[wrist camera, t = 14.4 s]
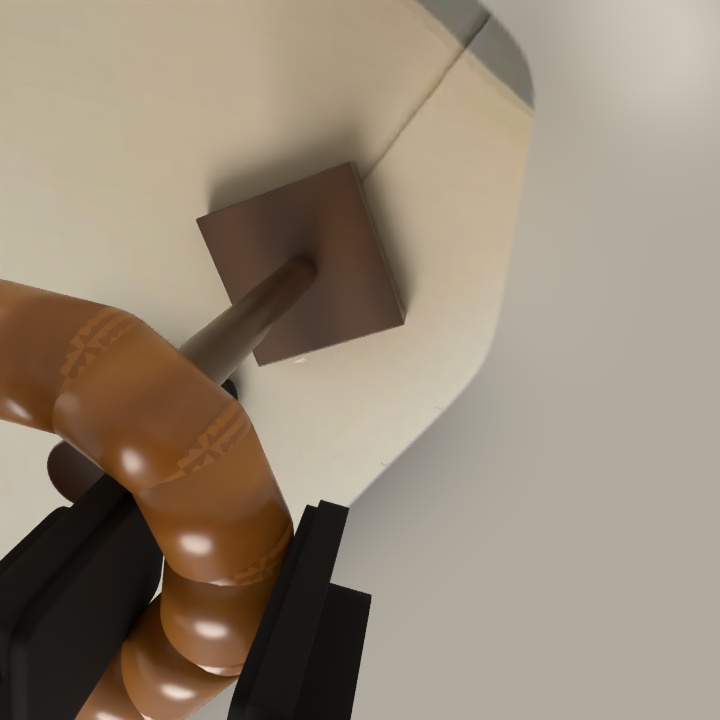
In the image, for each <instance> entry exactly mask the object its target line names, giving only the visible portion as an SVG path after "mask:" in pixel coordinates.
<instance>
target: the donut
mask: <svg viewBox="0 0 720 720" xmlns="http://www.w3.org/2000/svg"><path fill="white" fill-rule="evenodd" d="M0 419H1V420H5V421H8V422H12V423H16V424H20V425H23V426H27V427H31V428H35V429H38V430H42V431H46V432H50V433H53V434H57V435H59V436H60V437H61V438H62V439H64V440H65V441H66V442H67V443H69V444H70V445H71V446H73V447H74V448H75V449H76V450H78V451H79V452H80V453H81V454H83V455H84V456H85V457H87V458H88V459H89V460H90V461H92V462H93V463H94V464H95V465H97V466H98V467H99V468H100V469H102V470H103V471H104V472H106V473H107V474H108V475H109V476H111V477H112V478H113V479H114V480H116V481H117V482H118V483H119V484H121V485H122V486H123V487H125V488H126V489H127V490H128V491H130V492H131V493H132V495H133V497H134V499H135V501H136V503H137V505H138V507H139V509H140V511H141V513H142V514H143V516H144V518H145V520H146V522H147V524H148V526H149V528H150V530H151V532H152V534H153V536H154V537H155V539H156V541H157V543H158V545H159V547H160V549H161V551H162V553H163V555H164V557H165V560H164V571H163V582H162V592H161V593H160V594H159V595H158V596H157V597H156V598H155V599H154V600H153V601H152V602H150V603H149V604H148V605H147V606H146V607H145V608H144V609H143V610H142V611H141V613H140V614H139V615H138V617H137V619H136V620H135V622H134V624H133V626H132V628H131V630H130V632H129V635H128V637H127V639H126V640H125V642H124V643H123V645H122V646H121V648H120V649H119V651H118V653H117V654H116V656H115V657H114V659H113V660H112V662H111V663H110V665H109V667H108V668H107V670H106V671H105V673H104V674H103V676H102V677H101V679H100V681H99V682H98V684H97V685H96V687H95V688H94V690H93V691H92V693H91V695H90V696H89V698H88V699H87V701H86V702H85V704H84V706H83V707H82V709H81V710H80V712H79V713H78V715H77V716H76V718H75V720H184V719H186V718H188V717H189V716H191V715H193V714H194V713H195V712H196V711H198V710H199V709H200V708H201V707H203V706H204V705H205V704H206V703H208V702H209V701H210V700H212V699H213V698H214V697H215V696H217V695H218V694H219V693H221V692H222V691H223V690H224V689H225V688H227V687H228V686H229V685H231V684H232V683H233V682H234V681H236V680H237V679H238V678H239V676H240V673H241V671H242V668H243V666H244V663H245V661H246V658H247V656H248V653H249V650H250V648H251V645H252V643H253V640H254V638H255V635H256V633H257V630H258V627H259V625H260V622H261V620H262V617H263V615H264V612H265V610H266V607H267V605H268V602H269V599H270V597H271V594H272V592H273V589H274V587H275V584H276V582H277V579H278V577H279V574H280V571H281V569H282V566H283V564H284V561H285V559H286V556H287V554H288V551H289V549H290V546H291V543H292V541H293V538H294V528H293V522H292V518H291V515H290V512H289V509H288V507H287V505H286V502H285V500H284V498H283V495H282V493H281V491H280V488H279V486H278V483H277V481H276V479H275V476H274V474H273V472H272V469H271V467H270V465H269V462H268V460H267V458H266V455H265V453H264V451H263V448H262V446H261V443H260V441H259V439H258V436H257V434H256V432H255V429H254V427H253V425H252V422H251V420H250V418H249V416H248V414H247V413H246V411H245V409H244V408H243V407H242V405H241V404H240V403H239V402H238V401H237V400H236V399H235V398H234V397H233V396H232V395H230V394H229V393H228V392H227V391H226V390H224V389H223V388H222V387H221V386H220V385H219V384H217V383H216V382H215V381H214V380H213V379H211V378H210V377H209V376H208V375H207V374H206V373H204V372H203V371H202V370H201V369H200V368H198V367H197V366H196V365H195V364H194V363H192V362H191V361H190V360H189V359H188V358H187V357H185V356H184V355H183V354H182V353H181V352H179V351H178V350H177V349H176V348H175V347H174V346H172V345H171V344H170V343H169V342H168V341H166V340H165V339H164V338H163V337H162V336H161V335H159V334H158V333H157V332H156V331H155V330H153V329H152V328H151V327H150V326H149V325H147V324H146V323H145V322H144V321H143V320H141V319H139V318H138V317H136V316H135V315H133V314H131V313H128V312H126V311H124V310H121V309H118V308H115V307H111V306H107V305H103V304H99V303H95V302H91V301H87V300H83V299H79V298H75V297H71V296H67V295H63V294H59V293H55V292H51V291H47V290H43V289H39V288H35V287H31V286H27V285H23V284H19V283H15V282H11V281H7V280H1V279H0Z"/></svg>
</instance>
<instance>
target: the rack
mask: <svg viewBox="0 0 720 720" xmlns="http://www.w3.org/2000/svg"><path fill="white" fill-rule="evenodd" d="M196 222H197V224H198V226H199V229H200V231H201V233H202V235H203V238H204V240H205V242H206V245H207V247H208V249H209V252H210V254H211V256H212V259H213V261H214V263H215V266H216V268H217V270H218V273H219V275H220V277H221V280H222V282H223V284H224V287H225V289H226V291H227V293H228V296H229V298H230V300H231V303H232V306H231V307H230V308H228V309H227V310H226V311H224V312H223V313H222V314H221V315H219V316H218V317H217V318H216V319H214V320H213V321H212V322H211V323H209V324H208V325H207V326H206V327H204V328H203V329H202V330H201V331H199V332H198V333H197V334H195V335H194V336H193V337H192V338H190V339H189V340H188V341H187V342H185V343H184V344H183V345H182V346H180V347H179V348H178V349H177V350H178V351H179V352H181V353H182V354H183V355H184V356H185V357H187V358H188V359H189V360H190V361H191V362H192V363H194V364H195V365H196V366H197V367H198V368H200V369H201V370H202V371H203V372H204V373H206V374H207V375H208V376H209V377H210V378H211V379H213V380H214V381H215V382H216V383H217V384H219V385H220V386H221V385H222V384H223V383H224V382H225V381H226V379H227V378H228V377H229V376H230V375H231V374H232V373H233V372H234V371H235V369H236V368H237V367H238V366H239V365H240V364H241V363H242V362H243V361H244V360H245V358H246V357H247V356H248V355H249V354H250V353H251V352H252V351H253V354H254V356H255V358H256V361H257V363H258V365H259V367H261V366H265V365H268V364H271V363H275V362H278V361H282V360H285V359H289V358H292V357H295V356H299V355H302V354H306V353H309V352H313V351H316V350H319V349H323V348H326V347H330V346H333V345H337V344H340V343H343V342H347V341H350V340H354V339H357V338H361V337H364V336H367V335H371V334H374V333H378V332H381V331H384V330H388V329H391V328H395V327H398V326H402V325H404V323H405V318H406V313H405V310H404V307H403V304H402V301H401V298H400V295H399V292H398V289H397V287H396V284H395V281H394V278H393V275H392V272H391V269H390V266H389V263H388V260H387V257H386V254H385V251H384V248H383V245H382V242H381V239H380V236H379V233H378V230H377V227H376V224H375V221H374V218H373V215H372V212H371V209H370V206H369V203H368V200H367V197H366V194H365V191H364V188H363V185H362V182H361V179H360V176H359V173H358V170H357V167H356V164H355V162H354V161H350V162H347V163H344V164H342V165H339V166H336V167H334V168H331V169H328V170H326V171H323V172H320V173H318V174H315V175H312V176H310V177H307V178H304V179H302V180H299V181H296V182H294V183H291V184H288V185H285V186H283V187H280V188H277V189H275V190H272V191H269V192H267V193H264V194H261V195H259V196H256V197H253V198H251V199H248V200H245V201H243V202H240V203H237V204H235V205H232V206H229V207H227V208H224V209H221V210H219V211H216V212H213V213H211V214H208V215H205V216H203V217H200V218H197V219H196ZM47 470H48V475H49V477H50V480H51V482H52V484H53V485H54V487H55V488H56V489H57V491H58V492H59V493H60V494H61V495H62V496H63V497H65V498H66V499H67V500H69V501H70V502H72V503H75V502H76V501H77V500H78V499H79V498H80V497H81V496H82V495H83V494H84V493H85V492H86V491H87V490H89V489H90V488H91V487H92V486H93V485H94V484H95V483H96V482H97V481H98V480H99V479H100V478H101V477H102V476H103V475H104V474H105V473H106V472H104V471H103V470H102V469H100V468H99V467H98V466H97V465H95V464H94V463H93V462H92V461H90V460H89V459H88V458H87V457H85V456H84V455H83V454H81V453H80V452H79V451H78V450H76V449H75V448H74V447H73V446H71V445H70V444H69V443H67V442H66V441H65V440H64V439H63V440H62V441H61V442H59V443H58V444H57V445H56V446H55V447H54V448H53V449H52V450H51V452H50V454H49V457H48V461H47Z"/></svg>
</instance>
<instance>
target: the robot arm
mask: <svg viewBox="0 0 720 720" xmlns="http://www.w3.org/2000/svg"><path fill="white" fill-rule="evenodd" d="M348 511H349V508H348V507H344V506H341V505H337V504H334V503H330V502H327V501H323V500H320V503H319V505H318V508H317V507H314V506H310V505H307V506H306V508H305V510H304V513H303V515H302V518H301V520H300V523H299V526H298V528H297V531H296V533H295V536H294V538H293V541H292V543H291V546H290V549H289V551H288V554H287V556H286V559H285V561H284V564H283V566H282V569H281V571H280V574H279V577H278V579H277V582H276V584H275V587H274V589H273V592H272V594H271V597H270V599H269V602H268V605H267V607H266V610H265V612H264V615H263V617H262V620H261V622H260V625H259V627H258V630H257V633H256V635H255V638H254V640H253V643H252V645H251V648H250V650H249V653H248V656H247V658H246V661H245V663H244V666H243V668H242V671H241V673H240V676H239V679H238V682H237V685H236V688H235V691H234V694H233V697H232V701H231V705H230V708H229V712H228V717H227V720H350V719H351V713H352V707H353V702H354V696H355V690H356V684H357V679H358V673H359V668H360V661H361V656H362V650H363V645H364V639H365V632H366V627H367V622H368V616H369V609H370V604H371V595H370V594H367V593H363V592H360V591H356V590H353V589H350V588H346V587H342V586H339V585H336V584H332V583H330V579H331V576H332V572H333V568H334V564H335V561H336V557H337V553H338V549H339V545H340V542H341V537H342V534H343V530H344V526H345V522H346V519H347V515H348ZM162 562H163V553H162V551H161V549H160V547H159V545H158V543H157V541H156V539H155V537H154V536H153V534H152V532H151V530H150V528H149V526H148V524H147V522H146V520H145V518H144V516H143V514H142V513H141V511H140V509H139V507H138V505H137V503H136V501H135V499H134V497H133V495H132V493H131V492H130V491H128V490H127V489H126V488H125V487H123V486H122V485H121V484H119V483H118V482H117V481H116V480H114V479H113V478H112V477H111V476H109V475H108V474H107V473H105V474H104V475H103V476H102V477H101V478H100V479H99V480H98V481H97V482H96V483H95V484H94V485H93V486H92V487H91V488H90V489H89V490H87V491H86V492H85V493H84V494H83V495H82V496H81V497H80V498H79V499H78V500H77V501H76V502H75V503H74V504H73V505H72V506H71V507H70V508H69V507H65V506H62V507H59V508H57V509H55V510H54V511H53V512H51V513H50V514H49V515H48V516H47V517H46V518H45V519H44V520H43V521H42V522H41V523H40V524H39V525H37V526H36V527H35V528H34V529H33V530H32V531H31V532H30V533H29V534H28V535H27V536H26V537H25V538H24V539H23V540H22V541H21V542H20V543H19V544H17V545H16V546H15V547H14V548H13V549H12V550H11V551H10V552H9V553H8V554H7V555H6V556H5V557H4V558H3V559H2V560H1V561H0V720H75V718H76V716H77V715H78V713H79V712H80V710H81V709H82V707H83V706H84V704H85V702H86V701H87V699H88V698H89V696H90V695H91V693H92V691H93V690H94V688H95V687H96V685H97V684H98V682H99V681H100V679H101V677H102V676H103V674H104V673H105V671H106V670H107V668H108V667H109V665H110V663H111V662H112V660H113V659H114V657H115V656H116V654H117V653H118V651H119V649H120V648H121V646H122V645H123V643H124V642H125V640H126V639H127V637H128V635H129V632H130V630H131V628H132V626H133V624H134V622H135V620H136V619H137V617H138V615H139V614H140V613H141V611H142V610H143V609H144V608H145V607H146V606H147V605H148V604H149V603H150V601H151V600H152V598H153V596H154V594H155V592H156V590H157V588H158V585H159V582H160V578H161V571H162Z"/></svg>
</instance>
